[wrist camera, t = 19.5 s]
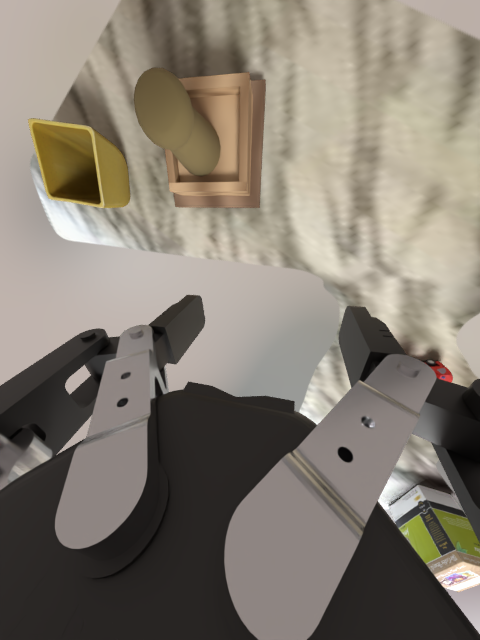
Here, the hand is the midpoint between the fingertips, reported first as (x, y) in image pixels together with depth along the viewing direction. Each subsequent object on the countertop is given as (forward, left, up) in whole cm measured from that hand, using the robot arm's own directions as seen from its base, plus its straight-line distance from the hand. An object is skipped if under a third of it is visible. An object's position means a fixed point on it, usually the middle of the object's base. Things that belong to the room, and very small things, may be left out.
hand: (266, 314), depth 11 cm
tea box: (-50, +69, -27) cm, 89 cm away
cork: (+11, -14, -22) cm, 29 cm away
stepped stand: (+9, -14, -27) cm, 32 cm away
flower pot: (+27, -11, -27) cm, 40 cm away
